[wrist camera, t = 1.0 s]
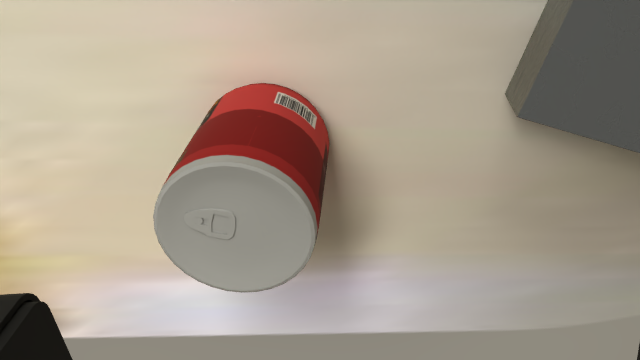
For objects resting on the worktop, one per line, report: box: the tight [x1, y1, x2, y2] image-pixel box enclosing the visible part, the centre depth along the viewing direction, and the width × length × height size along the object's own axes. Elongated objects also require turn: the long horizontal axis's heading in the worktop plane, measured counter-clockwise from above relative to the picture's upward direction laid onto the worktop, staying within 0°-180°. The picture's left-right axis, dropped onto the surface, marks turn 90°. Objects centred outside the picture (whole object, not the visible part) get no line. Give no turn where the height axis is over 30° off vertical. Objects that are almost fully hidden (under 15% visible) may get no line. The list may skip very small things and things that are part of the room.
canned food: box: [153, 83, 329, 292], centre depth 34 cm, size 8×8×11 cm
